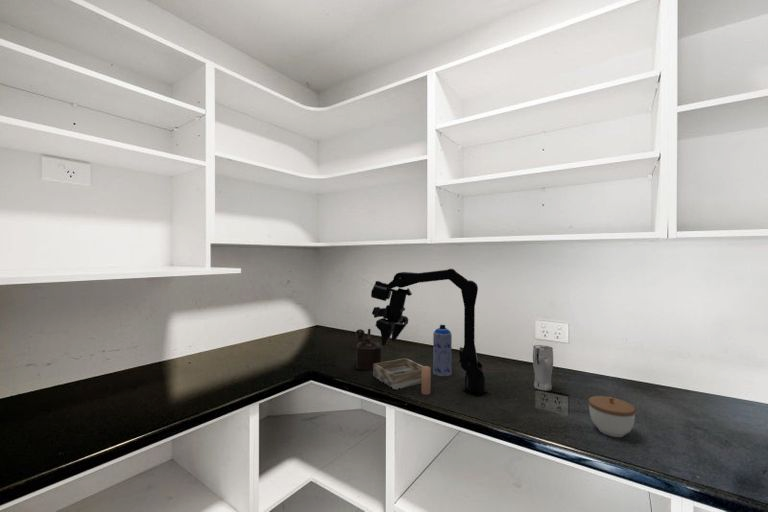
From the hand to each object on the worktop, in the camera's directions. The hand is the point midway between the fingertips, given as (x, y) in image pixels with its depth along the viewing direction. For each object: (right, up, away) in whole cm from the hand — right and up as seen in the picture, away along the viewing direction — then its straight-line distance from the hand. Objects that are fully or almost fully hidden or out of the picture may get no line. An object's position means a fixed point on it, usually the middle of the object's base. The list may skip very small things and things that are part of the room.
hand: (388, 343), depth 129 cm
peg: (+13, -15, -10) cm, 22 cm away
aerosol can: (+23, -15, +11) cm, 29 cm away
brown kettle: (-9, -15, +16) cm, 24 cm away
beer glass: (+58, -16, -5) cm, 60 cm away
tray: (+5, -15, +3) cm, 16 cm away
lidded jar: (+62, -15, -36) cm, 73 cm away
